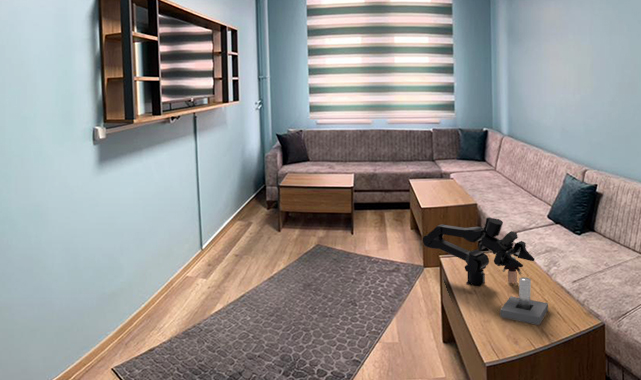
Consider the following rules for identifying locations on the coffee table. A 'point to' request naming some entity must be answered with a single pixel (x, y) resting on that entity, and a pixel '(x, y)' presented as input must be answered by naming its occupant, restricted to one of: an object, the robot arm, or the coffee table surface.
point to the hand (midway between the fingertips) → (528, 263)
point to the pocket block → (524, 311)
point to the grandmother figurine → (512, 274)
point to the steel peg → (524, 293)
